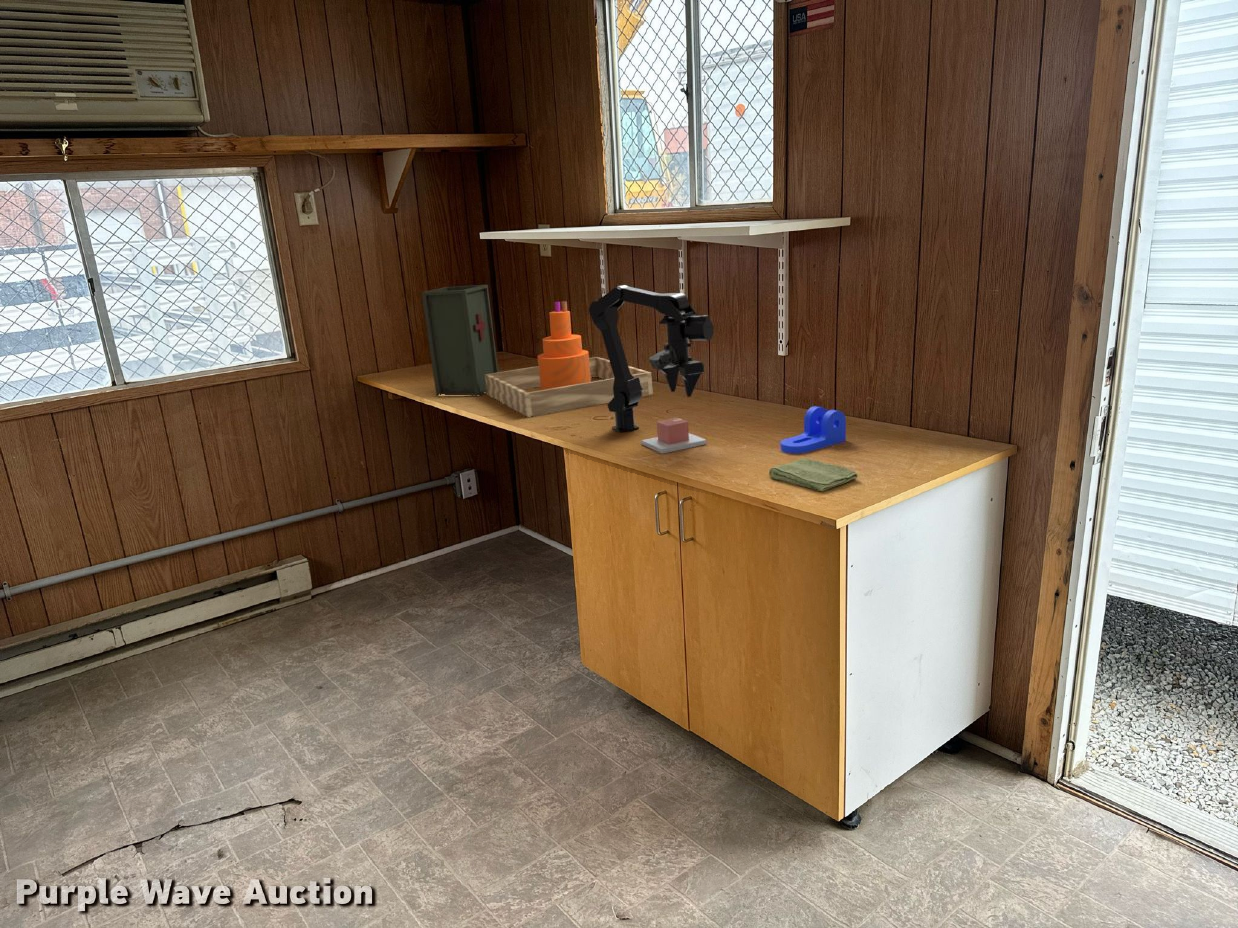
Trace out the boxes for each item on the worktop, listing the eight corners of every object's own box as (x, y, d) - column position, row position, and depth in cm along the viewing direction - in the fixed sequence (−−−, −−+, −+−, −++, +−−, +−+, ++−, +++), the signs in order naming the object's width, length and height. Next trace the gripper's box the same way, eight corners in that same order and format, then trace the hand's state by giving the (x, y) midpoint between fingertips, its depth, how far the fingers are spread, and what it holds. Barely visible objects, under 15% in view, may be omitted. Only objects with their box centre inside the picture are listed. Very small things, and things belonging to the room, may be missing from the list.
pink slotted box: (657, 439, 235) (656, 420, 234) (677, 435, 238) (676, 416, 236) (668, 444, 230) (667, 425, 228) (689, 440, 232) (688, 421, 230)
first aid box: (479, 396, 320) (465, 290, 308) (436, 396, 325) (421, 292, 314) (500, 385, 336) (487, 284, 325) (459, 386, 342) (445, 287, 331)
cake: (533, 401, 300) (535, 302, 291) (540, 392, 318) (541, 298, 309) (590, 404, 300) (593, 305, 290) (593, 394, 318) (596, 300, 309)
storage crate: (487, 395, 320) (484, 374, 318) (599, 376, 339) (597, 356, 336) (528, 417, 279) (525, 394, 277) (652, 394, 298) (651, 372, 295)
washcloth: (823, 495, 186) (823, 482, 185) (765, 479, 200) (765, 466, 199) (861, 481, 193) (861, 468, 192) (803, 466, 207) (803, 454, 206)
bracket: (822, 435, 231) (822, 404, 228) (845, 441, 224) (845, 408, 221) (774, 449, 222) (773, 416, 219) (796, 456, 215) (795, 422, 212)
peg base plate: (641, 444, 236) (640, 428, 235) (684, 435, 242) (684, 419, 240) (661, 453, 226) (660, 436, 225) (706, 444, 231) (705, 427, 230)
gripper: (637, 340, 240) (641, 393, 244) (668, 347, 223) (672, 404, 228) (671, 335, 244) (674, 387, 249) (704, 341, 228) (707, 397, 232)
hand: (680, 394), depth 239 cm, fingers open, 9 cm apart
